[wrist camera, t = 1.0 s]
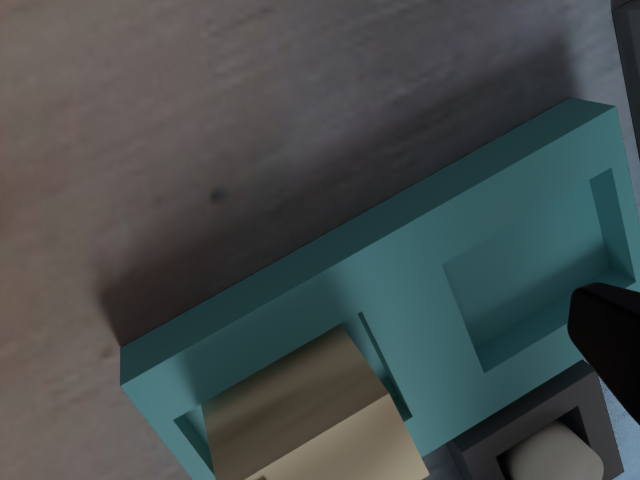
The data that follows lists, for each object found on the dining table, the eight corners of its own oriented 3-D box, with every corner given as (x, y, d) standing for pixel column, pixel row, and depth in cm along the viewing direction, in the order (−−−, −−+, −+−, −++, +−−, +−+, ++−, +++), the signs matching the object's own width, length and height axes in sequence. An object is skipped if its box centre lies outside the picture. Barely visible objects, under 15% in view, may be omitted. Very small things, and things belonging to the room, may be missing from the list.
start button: (574, 453, 29) (610, 488, 27) (513, 492, 29) (544, 530, 27) (558, 403, 28) (594, 435, 25) (492, 443, 27) (524, 480, 25)
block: (374, 391, 25) (431, 477, 20) (247, 467, 24) (276, 574, 20) (337, 319, 23) (391, 395, 18) (199, 399, 22) (219, 498, 18)
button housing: (588, 439, 31) (624, 471, 29) (476, 509, 31) (504, 548, 28) (559, 341, 28) (596, 369, 26) (434, 417, 28) (461, 453, 25)
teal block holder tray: (615, 289, 28) (657, 313, 26) (244, 513, 26) (255, 560, 24) (570, 97, 24) (616, 106, 22) (120, 348, 22) (120, 386, 20)
